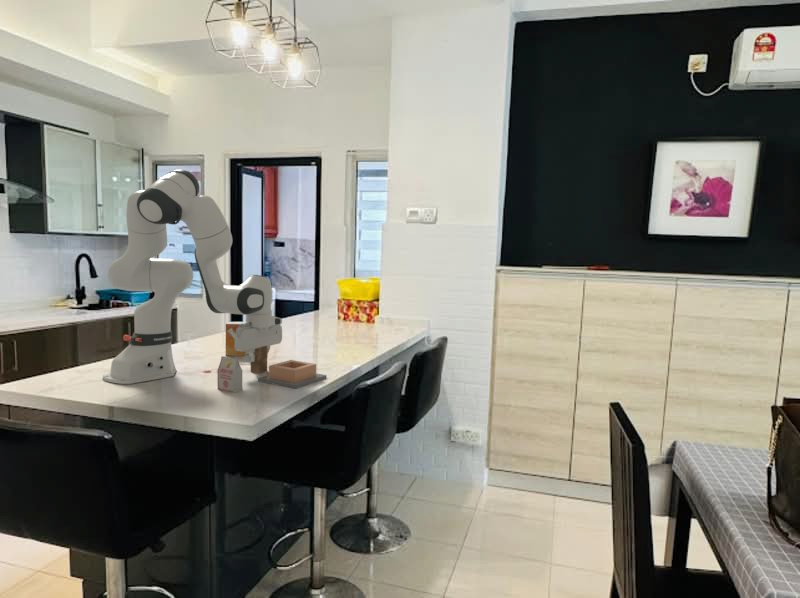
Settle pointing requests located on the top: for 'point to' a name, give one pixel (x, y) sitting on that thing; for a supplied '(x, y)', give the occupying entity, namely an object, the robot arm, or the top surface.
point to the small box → (232, 339)
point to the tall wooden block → (260, 360)
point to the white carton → (229, 375)
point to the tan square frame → (292, 374)
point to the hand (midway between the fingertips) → (259, 359)
